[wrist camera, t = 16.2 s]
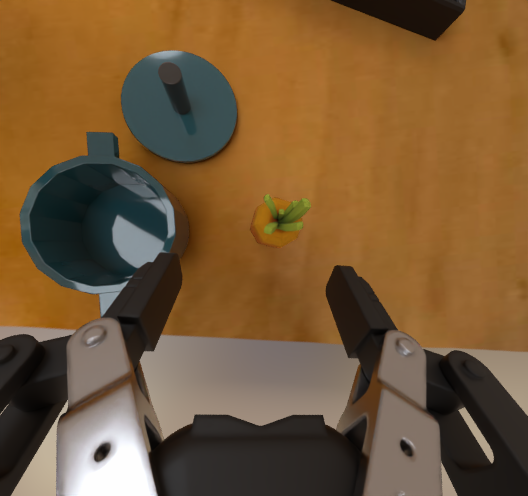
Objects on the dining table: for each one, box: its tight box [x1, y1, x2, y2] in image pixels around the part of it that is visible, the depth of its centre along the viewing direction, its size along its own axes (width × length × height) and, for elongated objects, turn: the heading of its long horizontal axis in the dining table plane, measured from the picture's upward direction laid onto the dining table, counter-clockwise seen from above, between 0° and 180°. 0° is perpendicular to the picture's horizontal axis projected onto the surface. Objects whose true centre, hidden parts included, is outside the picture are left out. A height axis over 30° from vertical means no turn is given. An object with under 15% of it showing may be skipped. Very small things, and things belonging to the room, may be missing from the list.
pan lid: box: [121, 51, 237, 163], centre depth 24 cm, size 15×15×6 cm
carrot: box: [250, 194, 311, 248], centre depth 22 cm, size 5×5×15 cm
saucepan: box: [20, 132, 189, 317], centre depth 23 cm, size 14×19×7 cm
